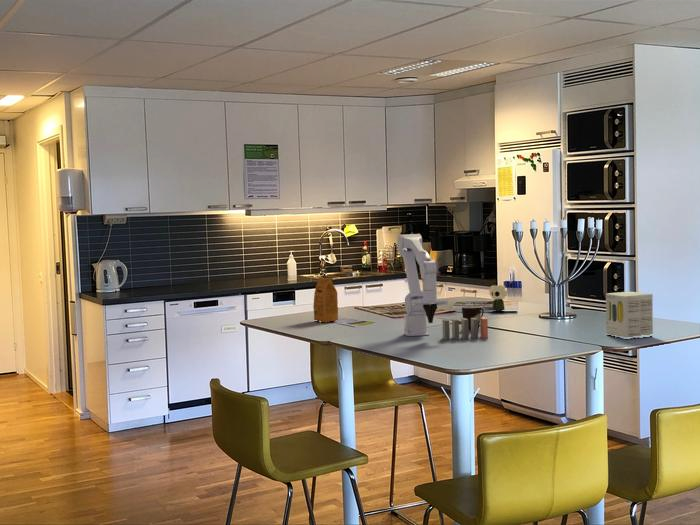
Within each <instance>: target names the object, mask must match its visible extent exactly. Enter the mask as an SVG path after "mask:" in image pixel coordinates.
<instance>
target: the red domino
mask: <svg viewBox="0 0 700 525" xmlns="http://www.w3.org/2000/svg"><path fill="white" fill-rule="evenodd" d="M488 329H489V327H488V318H487V317H484V316H482V317H481V316H480V325H479V330H480V335H479V336H480V338H482V339H488V338H489V336H488V334H489V332H488Z"/></svg>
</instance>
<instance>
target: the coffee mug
mask: <svg viewBox="0 0 700 525" xmlns="http://www.w3.org/2000/svg"><path fill="white" fill-rule="evenodd" d="M484 311H485V310H484V309H483V308H482V306H481V305H463V306H461V313H462V318H466V319H468V325H469V331H471V318H476V319H478V331H479V330H480V317H484ZM481 312H482V313H481Z"/></svg>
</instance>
